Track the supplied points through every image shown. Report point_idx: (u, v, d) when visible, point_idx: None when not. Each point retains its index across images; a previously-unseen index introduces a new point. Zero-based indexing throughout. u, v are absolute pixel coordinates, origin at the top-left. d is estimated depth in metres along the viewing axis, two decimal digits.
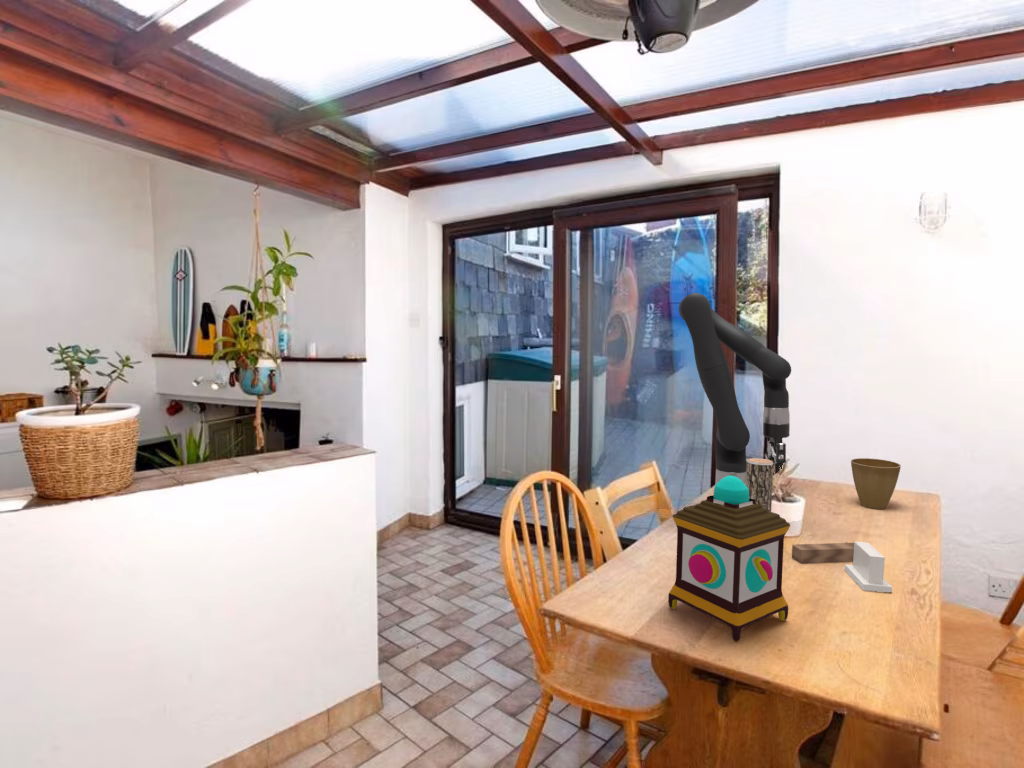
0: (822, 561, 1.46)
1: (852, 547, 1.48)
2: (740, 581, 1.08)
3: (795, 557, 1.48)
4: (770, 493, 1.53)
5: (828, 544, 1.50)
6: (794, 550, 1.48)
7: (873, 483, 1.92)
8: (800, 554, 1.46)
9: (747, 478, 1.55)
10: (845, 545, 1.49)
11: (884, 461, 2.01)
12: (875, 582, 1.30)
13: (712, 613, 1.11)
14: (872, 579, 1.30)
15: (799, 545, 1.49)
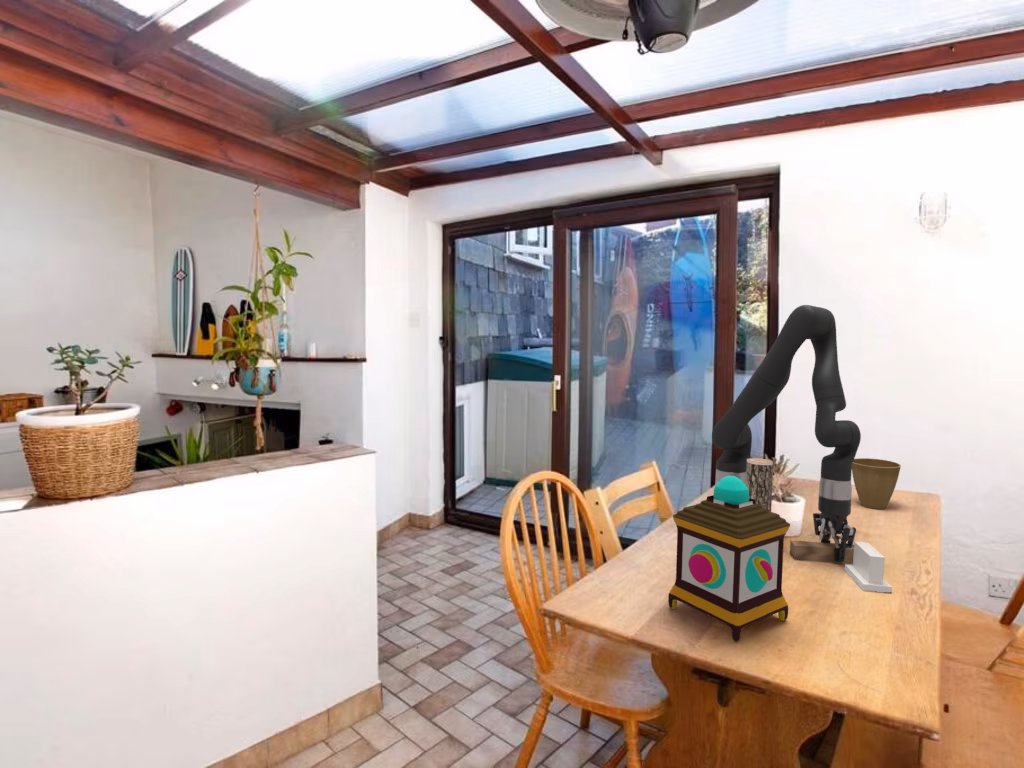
0: (819, 559, 1.47)
1: None
2: (740, 581, 1.08)
3: (791, 552, 1.50)
4: (770, 493, 1.53)
5: (830, 543, 1.49)
6: (791, 546, 1.51)
7: (873, 483, 1.92)
8: (794, 549, 1.48)
9: (747, 478, 1.55)
10: None
11: (884, 461, 2.01)
12: (875, 582, 1.30)
13: (712, 613, 1.11)
14: (872, 579, 1.30)
15: (797, 541, 1.51)
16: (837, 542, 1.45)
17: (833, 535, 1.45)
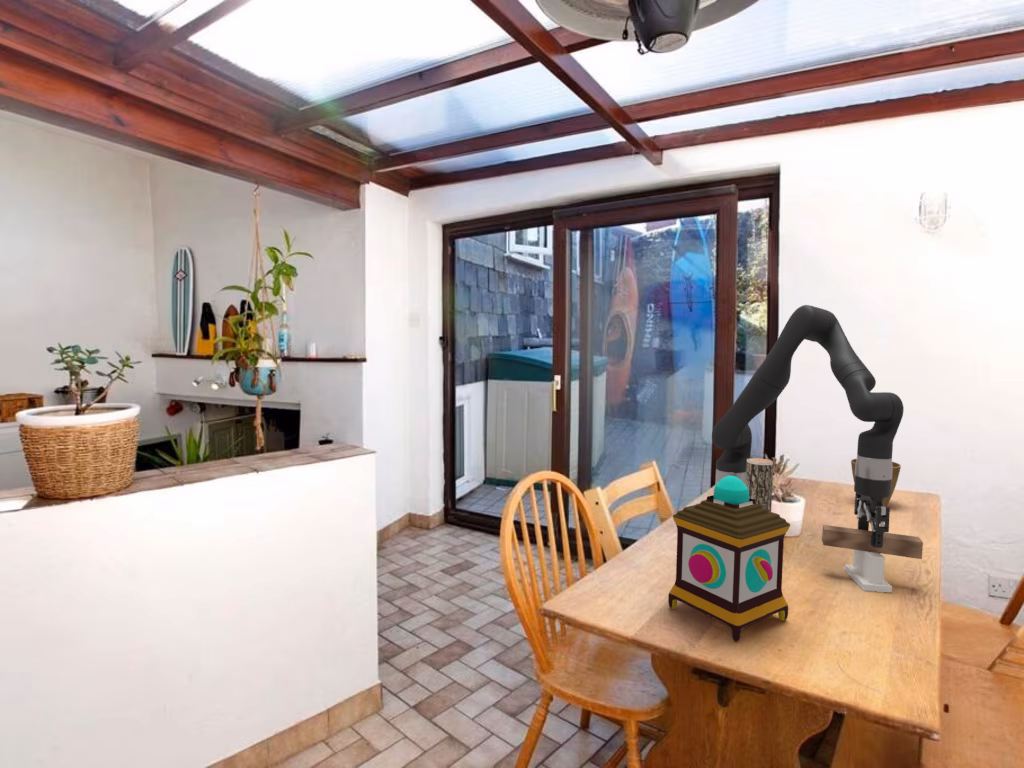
0: (852, 546, 1.34)
1: (896, 538, 1.31)
2: (740, 581, 1.08)
3: (822, 538, 1.39)
4: (770, 493, 1.53)
5: (869, 531, 1.35)
6: None
7: None
8: (823, 533, 1.37)
9: (747, 478, 1.55)
10: (890, 535, 1.33)
11: None
12: (875, 582, 1.30)
13: (712, 613, 1.11)
14: (872, 579, 1.30)
15: (830, 526, 1.39)
16: (872, 524, 1.30)
17: (868, 517, 1.31)
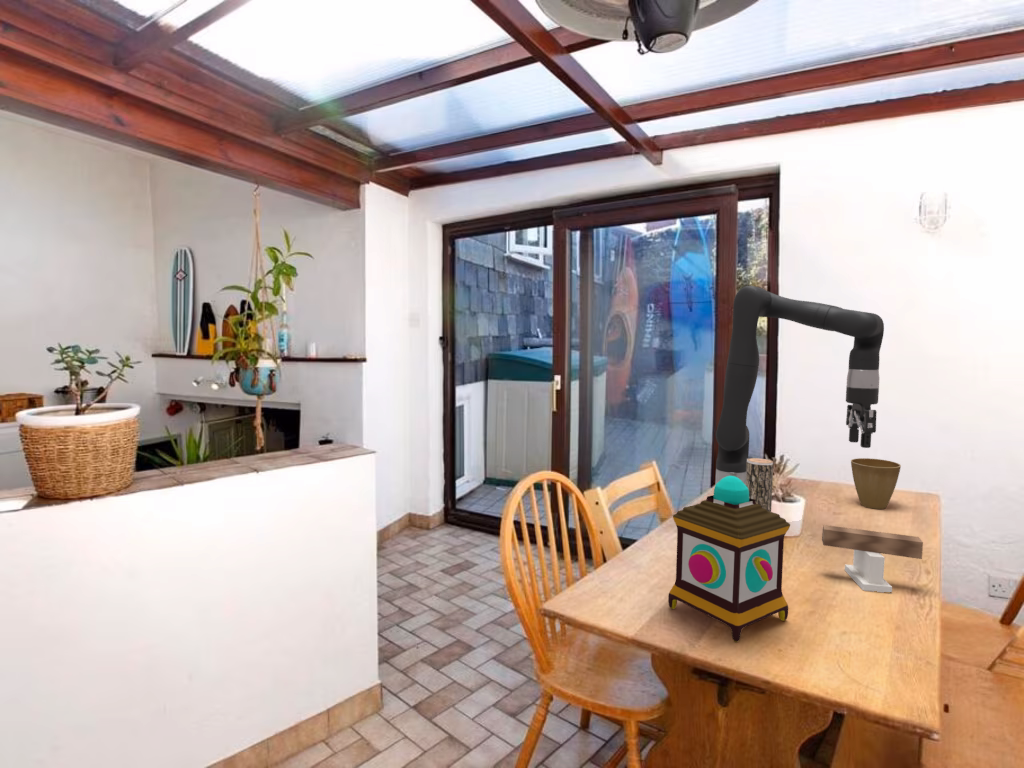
0: (852, 546, 1.34)
1: (896, 538, 1.31)
2: (740, 581, 1.08)
3: (822, 538, 1.39)
4: (770, 493, 1.53)
5: (869, 531, 1.35)
6: None
7: (873, 483, 1.92)
8: (823, 533, 1.37)
9: (747, 478, 1.55)
10: (890, 535, 1.33)
11: (884, 461, 2.01)
12: (875, 582, 1.30)
13: (712, 613, 1.11)
14: (872, 579, 1.30)
15: (830, 526, 1.39)
16: (862, 427, 1.48)
17: (858, 422, 1.49)
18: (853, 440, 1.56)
